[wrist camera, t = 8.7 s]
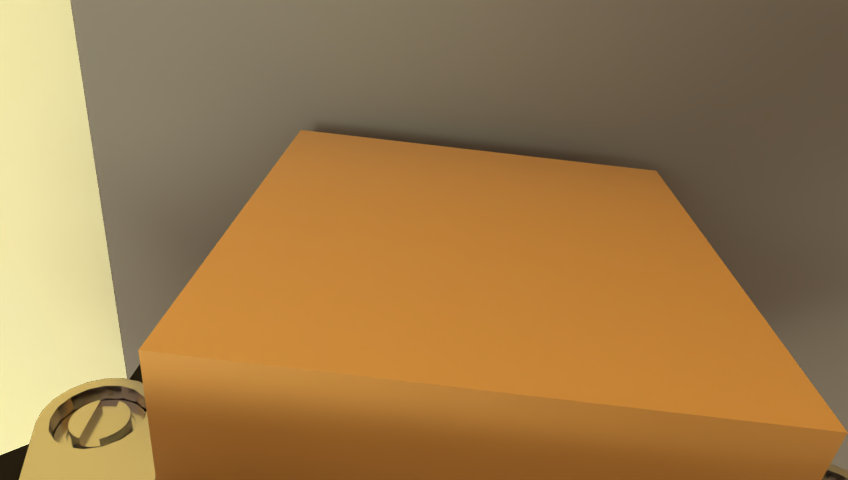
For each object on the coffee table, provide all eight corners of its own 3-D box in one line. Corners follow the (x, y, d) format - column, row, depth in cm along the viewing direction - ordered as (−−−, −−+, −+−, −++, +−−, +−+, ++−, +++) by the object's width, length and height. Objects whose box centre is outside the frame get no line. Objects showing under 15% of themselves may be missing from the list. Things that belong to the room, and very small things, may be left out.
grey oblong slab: (1273, -31, 11) (1387, -22, 9) (900, 525, 17) (936, 577, 16) (96, -165, 11) (44, -176, 9) (167, 440, 17) (143, 485, 16)
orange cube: (656, 170, 11) (846, 432, 5) (579, 434, 13) (655, 778, 8) (300, 130, 11) (138, 350, 5) (297, 401, 13) (188, 724, 8)
